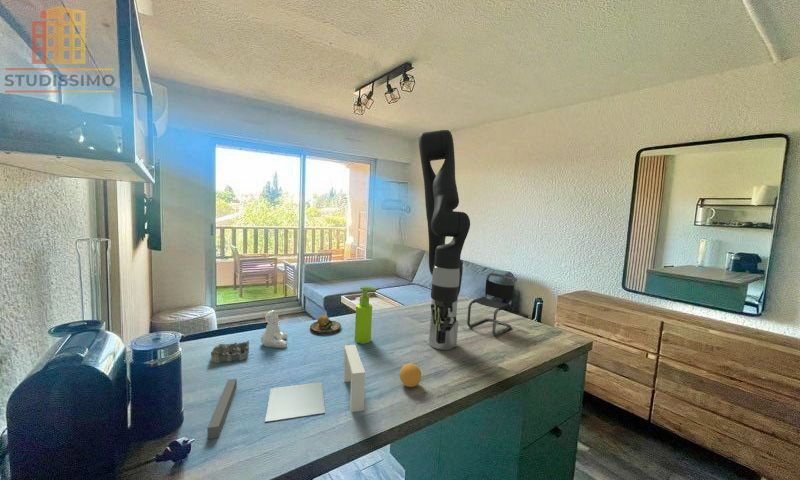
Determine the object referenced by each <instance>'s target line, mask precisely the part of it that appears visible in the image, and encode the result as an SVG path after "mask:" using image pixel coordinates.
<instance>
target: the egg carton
mask: <svg viewBox="0 0 800 480" xmlns="http://www.w3.org/2000/svg"><path fill="white" fill-rule="evenodd" d="M249 351H250V341H249V340H247V341H245V342H244V341H243V342H239V343H238V342H234V343H219V344H217V345H216V346H214V348H212V351H210V356H211V359H210V360H211V361H210V362H211V363H214V362H215V363H214V364H219V363H221V362H224V360H226V361H225V362H227V361H228V362H227V363H230V362H232V361H234V360H235V361H236V360H239V361H244V360H245V359H249ZM242 352H243V353H242ZM230 353H231V354H230ZM220 361H221V362H220ZM229 361H230V362H229Z"/></svg>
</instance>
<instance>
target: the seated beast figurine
mask: <svg viewBox="0 0 800 480" xmlns="http://www.w3.org/2000/svg"><path fill="white" fill-rule="evenodd" d="M264 318H265V321H266V322H267V324H266V327H265V331H264V332H263V334H261V337H260V343H261V344H262V345H263V346H265V347H266V348H275V349H286V348H287V347H288V342H287V341H285V340H287V339H288V333H286V332H282V331H281V330H280V326H279V321H280V319H279V314H277V312H276V311H275V310H274V309H271V310H270V311H268V312H266V314H265V316H264Z"/></svg>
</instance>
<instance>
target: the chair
mask: <svg viewBox="0 0 800 480" xmlns="http://www.w3.org/2000/svg"><path fill="white" fill-rule="evenodd" d="M491 276H494V277H499V278H503V279H509V280H512V282H511V284H510V285H508V284H507V285H506V284H500V283H496V282H493V281H490V277H491ZM516 281H518V277H513V276H509V275H503V274H499V273H493V272H490V273H488V274H487V275H486V280H485V291H484V295H483V296H482V297H479V298H476V299H473V300H471V301H469V304H468V306H467V316H466V317H467V321H466V323H467V324H466V325H467V326H468V327H469V328H473V327H474V326H476V325H479V324H481V322H482V323H483V321H484V322H486V321H485V320H491V321H490V322H492V335H493V336H494V337H497V336H499V335H501V334H503V333H505V332H507V331H509V330H510V329H512V326H511V325H510V324H509V323H506V322H504V321H500V320H497V315H498V313H499V311H500V312H501V311H502V310H505V309H507V308H509V307H510V306H512V303H513V301H514V290H515V283H516ZM487 296H491V297H493V298H498V299H502V300H508V301H509V302H508V303H507V302H506V303H505V302H499V301H497V300H496V301H495V300H492V299H489V298H487ZM475 303H477V304H479V305H481V306H485V307H489V308H493V309H494V308H495V310H494V312H493V318H491V317H490V318H489V317H488V318H487V317H485V318H483V319H480V320H477V321H475V322H473V323H471V309H472V305H473V304H475ZM496 322H498V323H496ZM499 323H501V324H500V325H502V324H504V325H503V326H505V325H507V326H506V328H503V329H501V330H499V331H498V332H496V325H497V324H499Z"/></svg>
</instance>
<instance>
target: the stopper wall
mask: <svg viewBox="0 0 800 480" xmlns="http://www.w3.org/2000/svg"><path fill="white" fill-rule="evenodd" d="M237 380H238V379H237V378H230V379H229V378H228V379H227V381H226V384H225V386H224V387H223V390H222V392H221V395H220V398H219V400H218V403H217V404H216V406H215V409H214V412H213V413H212V416H211V419H210V421H209V424H208V426H207V440H212V439H218V438H220V435H221V432H222V429H223V428H224V427H223V426H224V424H225V422H226V419H227V416H228V413H229V410H230V408H231V405H232V401H233V398H234V397H235V393H236V391H237V388H238V387H237V385H238V384H237V383H238V381H237Z"/></svg>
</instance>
